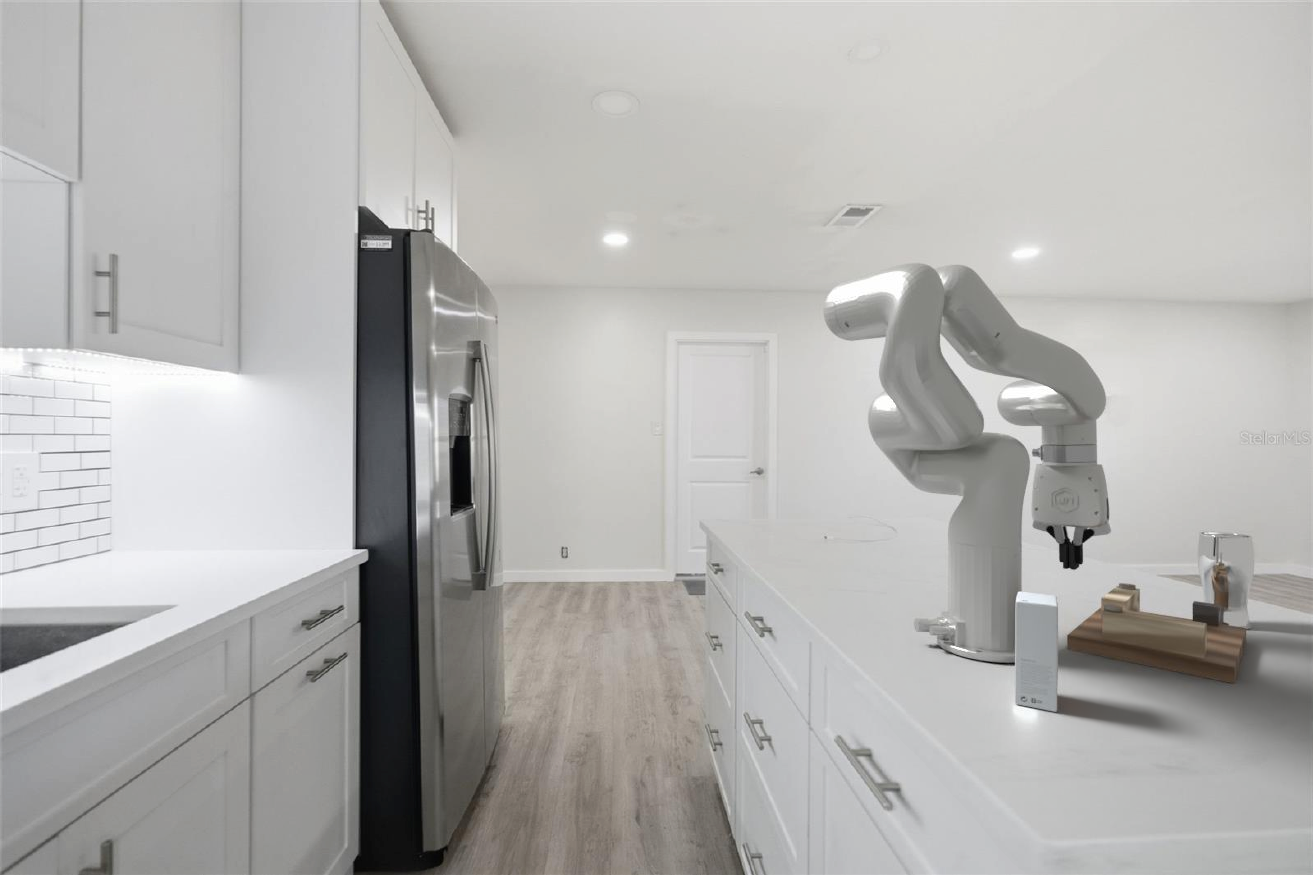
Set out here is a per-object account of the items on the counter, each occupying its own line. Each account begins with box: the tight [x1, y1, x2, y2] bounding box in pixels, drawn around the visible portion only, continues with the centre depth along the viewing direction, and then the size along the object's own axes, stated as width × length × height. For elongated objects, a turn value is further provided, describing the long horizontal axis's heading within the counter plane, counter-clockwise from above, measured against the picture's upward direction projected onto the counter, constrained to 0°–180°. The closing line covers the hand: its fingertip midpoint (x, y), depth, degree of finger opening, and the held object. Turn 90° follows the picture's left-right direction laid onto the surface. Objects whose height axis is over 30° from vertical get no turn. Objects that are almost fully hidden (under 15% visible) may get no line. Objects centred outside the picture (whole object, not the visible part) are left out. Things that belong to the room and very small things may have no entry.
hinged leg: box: [1100, 582, 1141, 624], centre depth 99 cm, size 12×3×5 cm, turn 134°
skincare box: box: [1014, 591, 1059, 713], centre depth 73 cm, size 6×4×12 cm
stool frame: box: [1066, 600, 1247, 684], centre depth 93 cm, size 24×18×7 cm
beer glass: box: [1197, 531, 1255, 631], centre depth 104 cm, size 7×7×15 cm
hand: (1071, 567), depth 102 cm, fingers closed
